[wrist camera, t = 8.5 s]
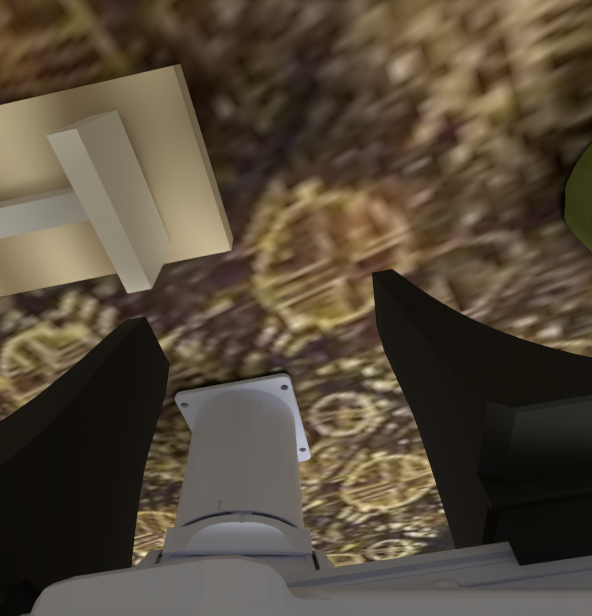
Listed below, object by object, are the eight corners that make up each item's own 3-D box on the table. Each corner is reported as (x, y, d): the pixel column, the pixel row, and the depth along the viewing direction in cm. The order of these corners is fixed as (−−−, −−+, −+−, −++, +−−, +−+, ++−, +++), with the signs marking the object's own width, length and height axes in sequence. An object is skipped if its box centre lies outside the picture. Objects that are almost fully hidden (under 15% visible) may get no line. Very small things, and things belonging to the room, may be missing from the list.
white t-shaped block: (116, 109, 16) (76, 128, 12) (171, 245, 19) (151, 288, 16) (-82, 154, 16) (-173, 183, 13) (6, 278, 19) (-48, 327, 16)
